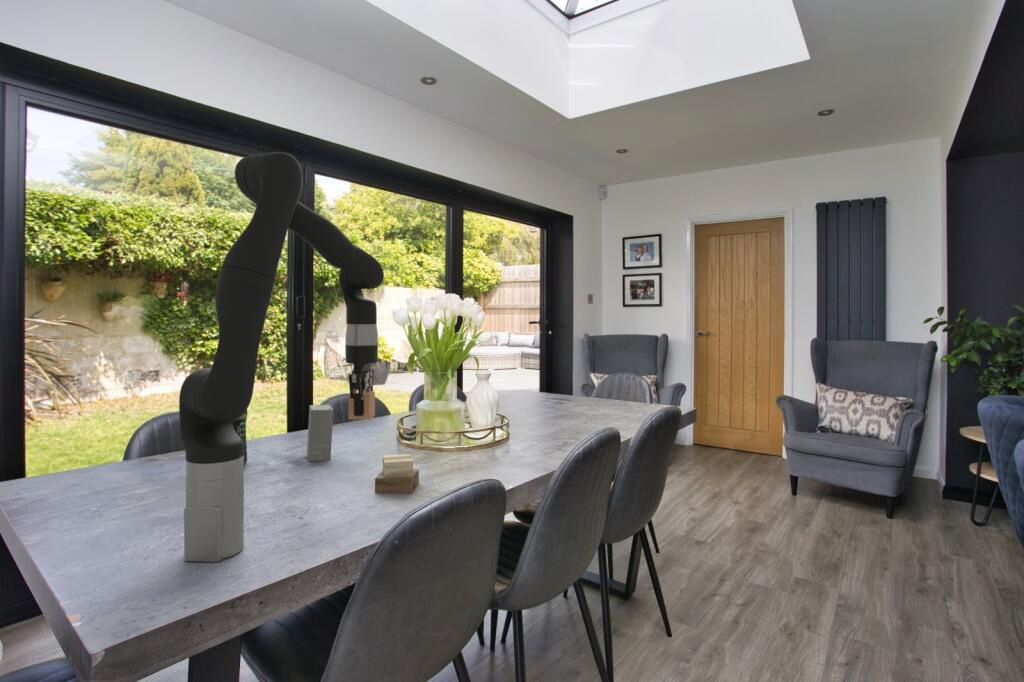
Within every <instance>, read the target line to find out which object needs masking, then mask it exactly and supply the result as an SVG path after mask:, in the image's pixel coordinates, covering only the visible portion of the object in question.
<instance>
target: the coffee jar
mask: <svg viewBox="0 0 1024 682" xmlns="http://www.w3.org/2000/svg"><path fill="white" fill-rule="evenodd" d="M248 414H249V413H248V409H247V410H246V411H245V413H244V414H243V415H242V416H241V417H239V418H238V419H236V420H234V421H232V423H233V427H234V430H235V432H236V433H237V434H238V436H239V437H240V438H241V439H242V441H243V444H244V465H245V464H247V462H248V448H247V427H246V426H247V418H248Z"/></svg>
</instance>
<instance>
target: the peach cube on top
mask: <svg viewBox="0 0 1024 682" xmlns="http://www.w3.org/2000/svg"><path fill="white" fill-rule="evenodd" d="M356 393H358V391H356ZM347 395H348V396H347V397H348V406H347V407H348V420H366V421H367V420H372V419H373V418H374V417H375V416H376V403H375V402H376V391H374V390H373V391H365V393H364V415H363V416H355V415H354V400H353V399H352V398H350V393H348V394H347Z"/></svg>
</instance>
